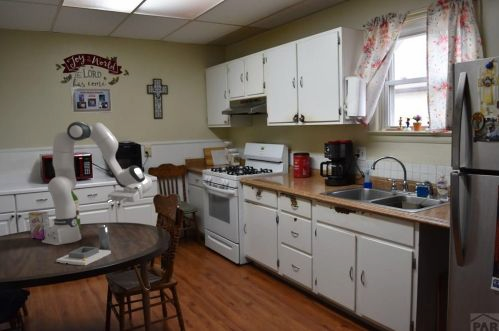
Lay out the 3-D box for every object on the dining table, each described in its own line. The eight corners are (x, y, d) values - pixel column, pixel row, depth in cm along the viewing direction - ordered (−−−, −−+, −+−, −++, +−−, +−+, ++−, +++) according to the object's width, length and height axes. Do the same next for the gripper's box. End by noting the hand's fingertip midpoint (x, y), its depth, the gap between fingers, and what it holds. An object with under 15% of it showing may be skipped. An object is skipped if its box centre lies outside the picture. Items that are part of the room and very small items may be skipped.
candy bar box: (30, 239, 242) (27, 212, 241) (37, 236, 247) (34, 210, 245) (44, 240, 239) (41, 213, 237) (51, 237, 243) (48, 211, 242)
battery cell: (98, 249, 214) (95, 226, 212) (104, 246, 218) (102, 224, 217) (105, 250, 212) (103, 227, 211) (111, 247, 217) (109, 224, 215)
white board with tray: (56, 262, 196) (55, 254, 196) (83, 250, 213) (83, 243, 212) (85, 265, 190) (84, 257, 189) (110, 253, 206) (110, 245, 206)
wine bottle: (75, 231, 257) (70, 181, 253) (63, 230, 258) (58, 181, 255) (83, 227, 265) (79, 179, 262) (71, 227, 267) (67, 179, 264)
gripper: (117, 186, 238) (99, 195, 227) (142, 188, 229) (125, 198, 217) (119, 195, 240) (102, 205, 229) (144, 198, 231) (128, 208, 219)
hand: (113, 202), depth 223 cm, fingers open, 8 cm apart
